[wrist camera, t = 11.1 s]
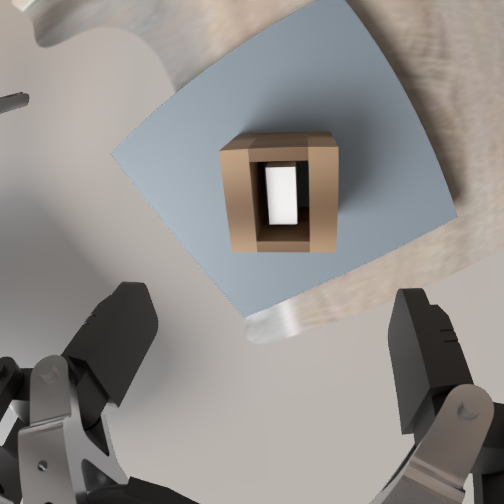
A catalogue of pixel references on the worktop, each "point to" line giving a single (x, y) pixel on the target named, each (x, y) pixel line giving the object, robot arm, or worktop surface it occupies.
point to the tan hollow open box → (254, 198)
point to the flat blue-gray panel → (292, 172)
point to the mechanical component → (13, 102)
